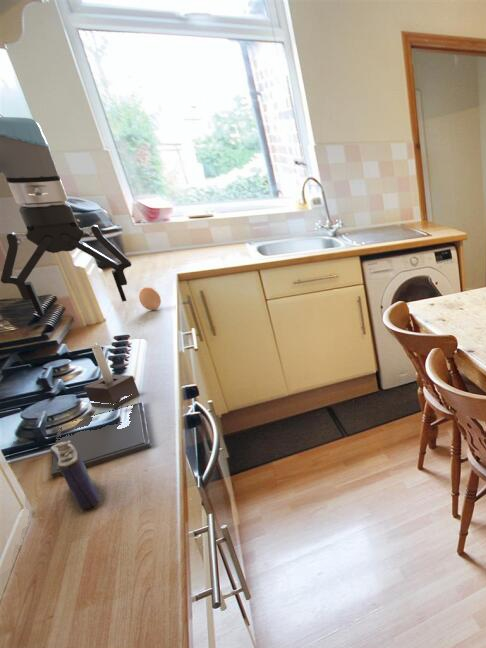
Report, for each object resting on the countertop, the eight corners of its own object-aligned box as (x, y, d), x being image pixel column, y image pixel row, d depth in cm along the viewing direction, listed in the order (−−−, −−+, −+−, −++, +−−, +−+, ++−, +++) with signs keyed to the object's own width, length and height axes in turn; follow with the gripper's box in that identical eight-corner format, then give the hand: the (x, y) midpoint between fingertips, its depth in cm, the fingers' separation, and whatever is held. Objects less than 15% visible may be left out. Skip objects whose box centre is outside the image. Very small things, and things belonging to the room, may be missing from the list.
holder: (91, 406, 103) (83, 386, 101) (117, 392, 109) (109, 374, 107) (115, 408, 103) (107, 388, 101) (139, 394, 108) (132, 375, 106)
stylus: (110, 401, 105) (88, 345, 100) (116, 398, 107) (95, 342, 101) (116, 402, 105) (94, 345, 100) (122, 399, 106) (101, 343, 101)
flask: (69, 489, 79) (43, 436, 75) (91, 480, 81) (67, 428, 77) (81, 514, 73) (54, 459, 69) (104, 504, 75) (80, 450, 71)
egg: (147, 308, 165) (139, 285, 161) (165, 306, 166) (158, 284, 163) (140, 313, 160) (132, 290, 156) (160, 311, 161) (152, 288, 158)
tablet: (60, 428, 96) (57, 424, 95) (143, 405, 104) (142, 401, 103) (53, 478, 81) (50, 473, 81) (151, 447, 89) (149, 442, 89)
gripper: (-54, 212, 81) (0, 325, 90) (124, 200, 96) (156, 298, 104) (-46, 208, 86) (4, 315, 95) (122, 197, 101) (153, 291, 110)
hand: (84, 306), depth 100 cm, fingers open, 13 cm apart
